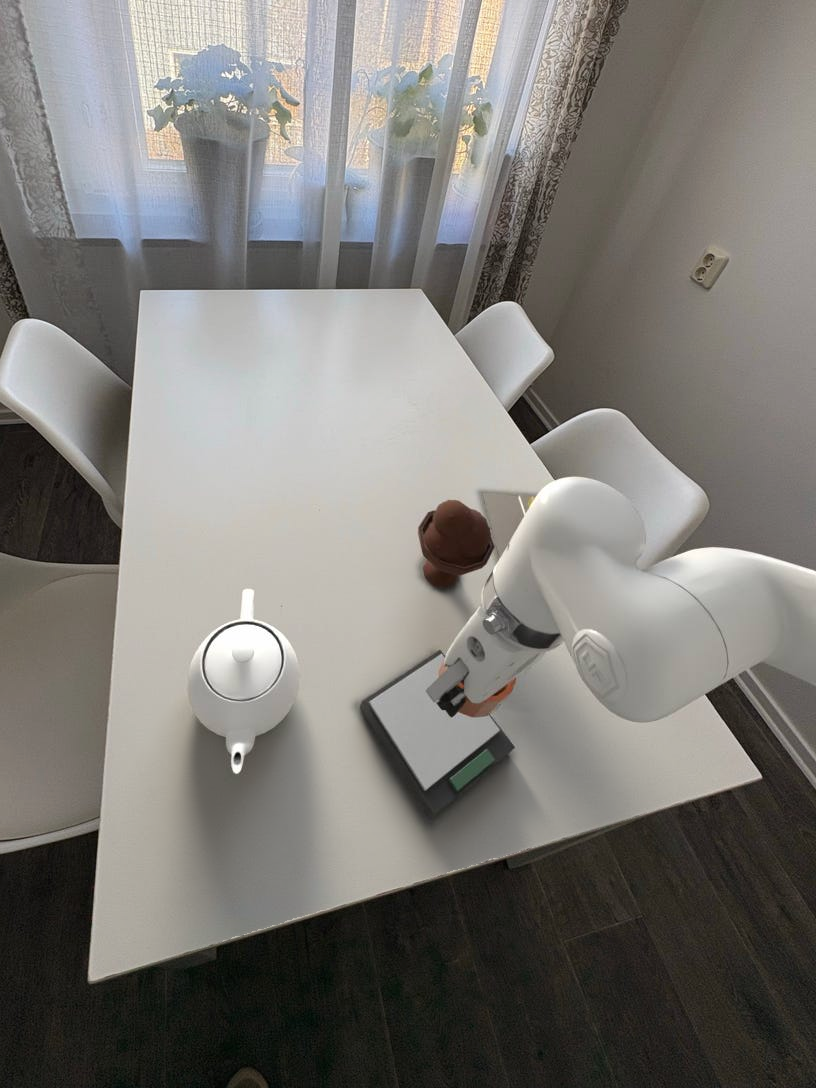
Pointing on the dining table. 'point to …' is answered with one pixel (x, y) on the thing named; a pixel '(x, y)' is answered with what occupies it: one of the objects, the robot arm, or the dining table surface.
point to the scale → (432, 737)
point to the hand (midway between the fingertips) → (470, 682)
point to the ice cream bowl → (453, 542)
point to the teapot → (243, 680)
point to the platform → (506, 516)
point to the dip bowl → (488, 704)
